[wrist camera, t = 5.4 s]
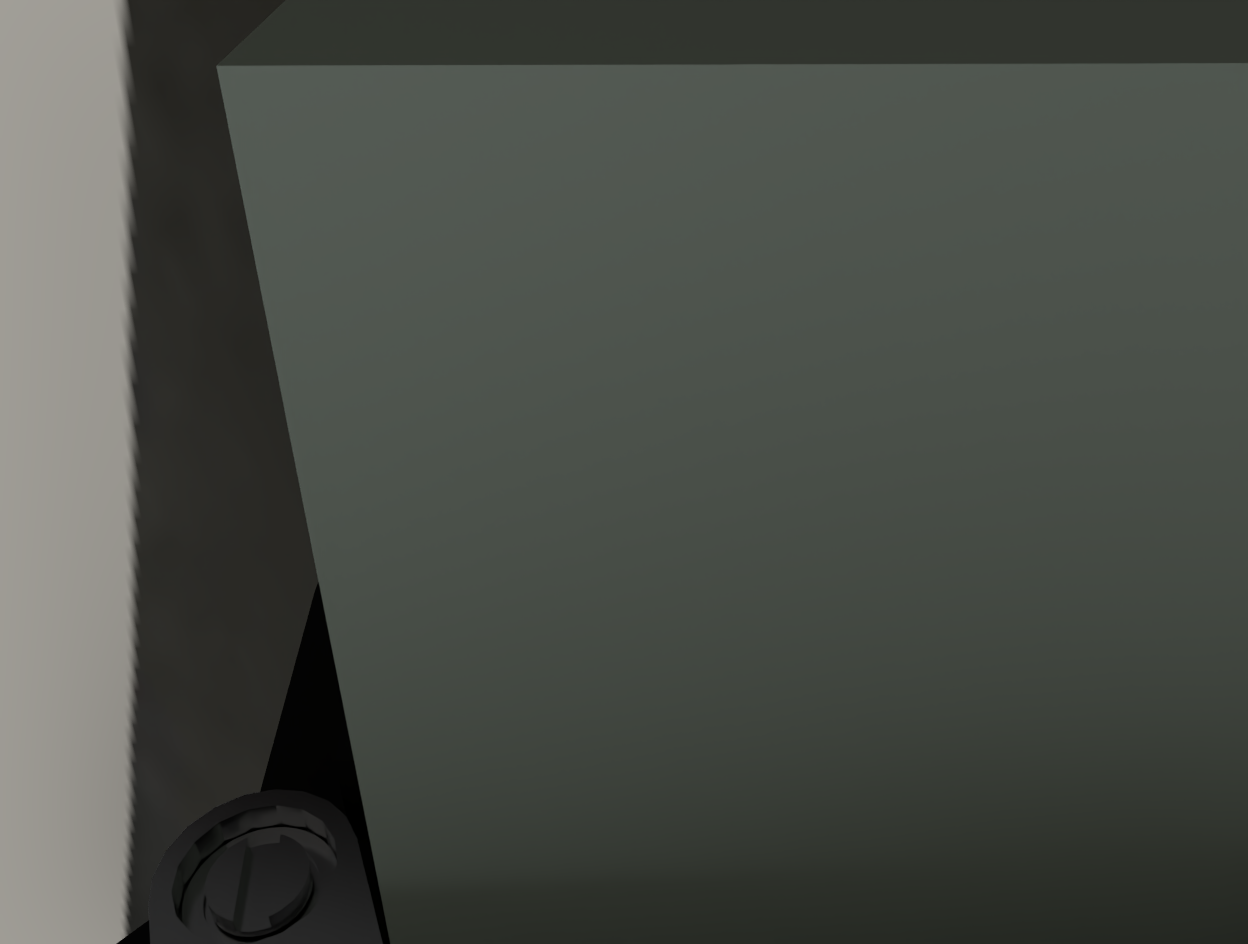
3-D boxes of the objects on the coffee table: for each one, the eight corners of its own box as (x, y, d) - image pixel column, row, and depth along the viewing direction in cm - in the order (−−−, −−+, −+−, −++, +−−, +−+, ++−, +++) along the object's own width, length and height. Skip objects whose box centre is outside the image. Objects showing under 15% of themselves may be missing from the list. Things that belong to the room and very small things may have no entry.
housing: (1102, -139, 9) (2180, 59, 3) (879, 812, 16) (1074, 1422, 10) (439, -147, 8) (214, 66, 3) (512, 830, 15) (494, 1470, 10)
